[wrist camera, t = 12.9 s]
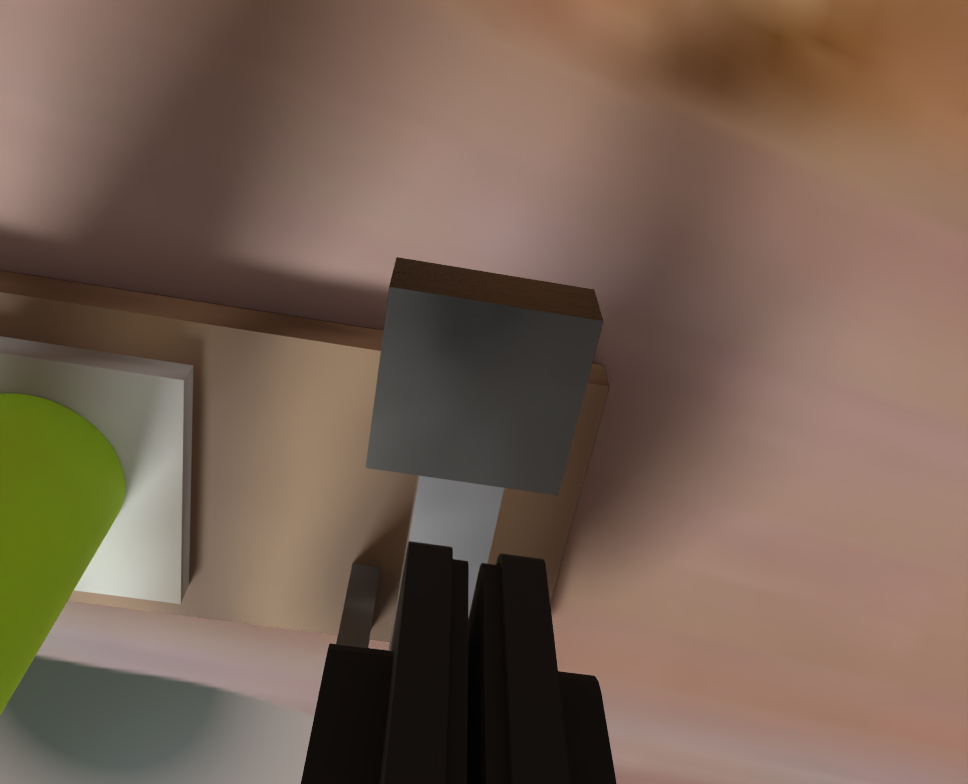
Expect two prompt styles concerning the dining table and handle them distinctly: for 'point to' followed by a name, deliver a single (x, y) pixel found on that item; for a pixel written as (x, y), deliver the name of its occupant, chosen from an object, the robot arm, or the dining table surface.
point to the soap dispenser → (47, 519)
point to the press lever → (477, 395)
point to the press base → (246, 457)
